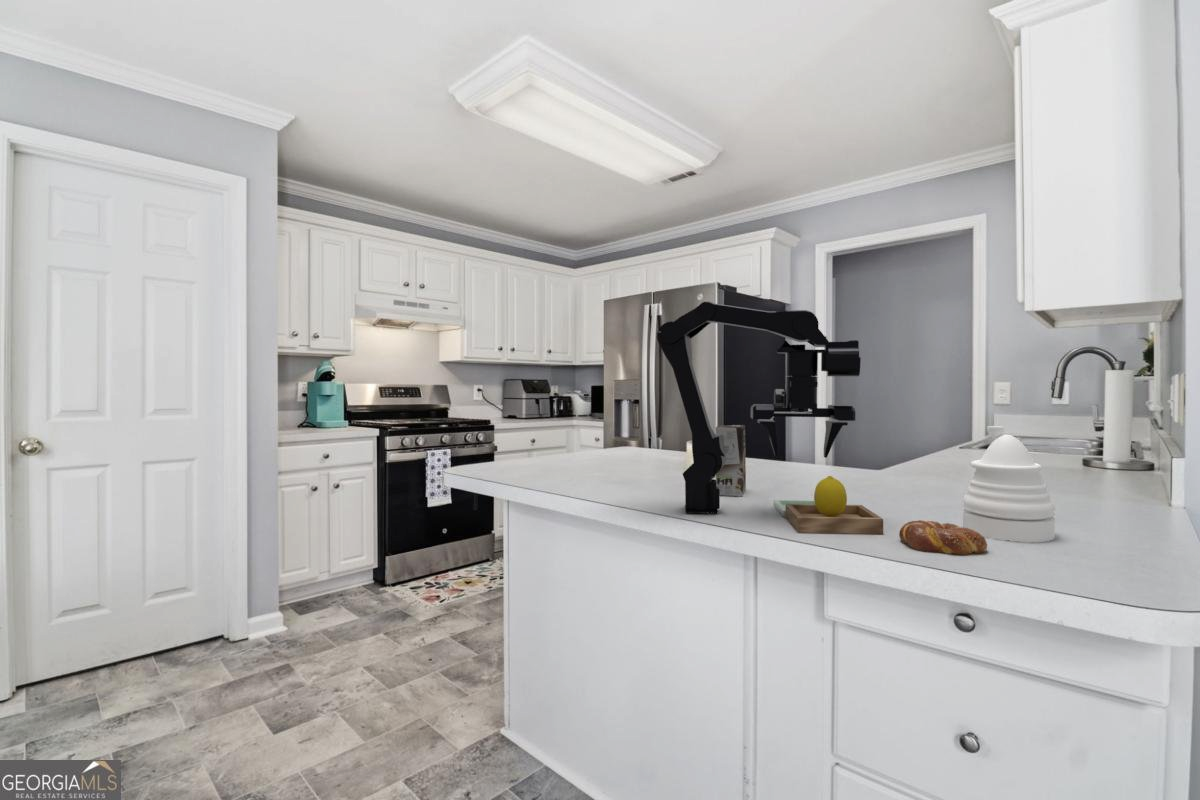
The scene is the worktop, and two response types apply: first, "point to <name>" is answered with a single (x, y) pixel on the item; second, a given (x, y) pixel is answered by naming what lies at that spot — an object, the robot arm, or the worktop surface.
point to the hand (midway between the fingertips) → (800, 456)
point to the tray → (834, 520)
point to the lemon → (830, 497)
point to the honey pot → (1008, 494)
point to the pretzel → (942, 538)
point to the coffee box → (732, 461)
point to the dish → (781, 504)
